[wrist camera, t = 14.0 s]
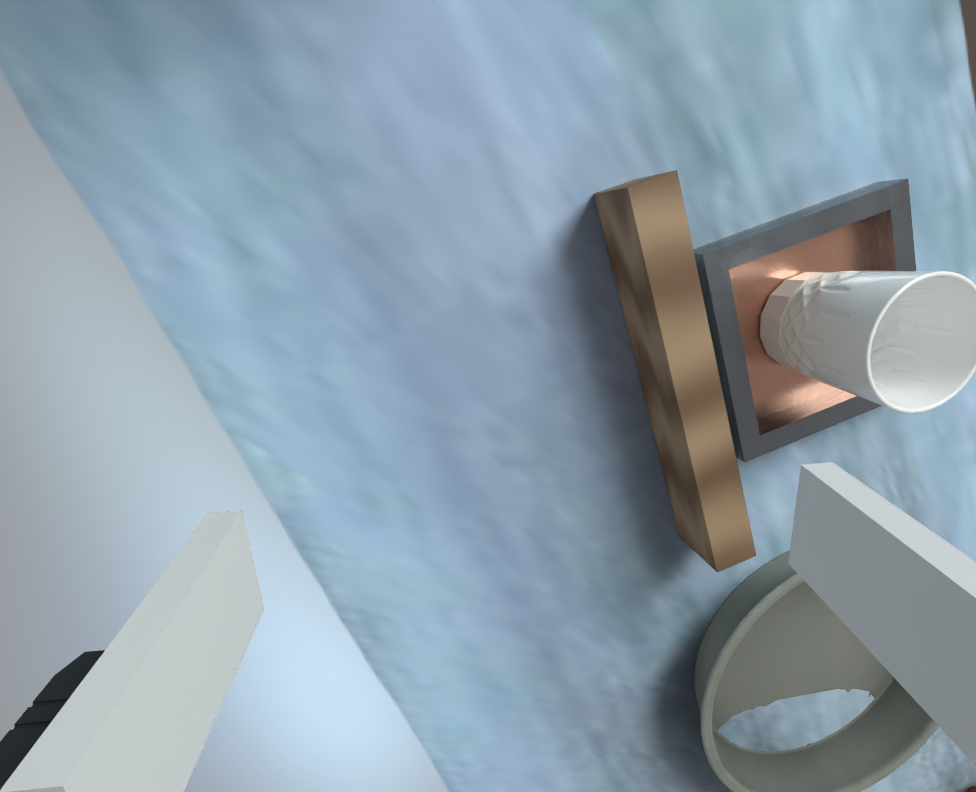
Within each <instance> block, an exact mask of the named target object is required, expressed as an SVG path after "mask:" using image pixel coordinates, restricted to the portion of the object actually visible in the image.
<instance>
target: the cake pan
mask: <svg viewBox="0 0 976 792" xmlns="http://www.w3.org/2000/svg"><path fill="white" fill-rule="evenodd" d="M789 555H790V551H789V552H786V553H784V554H782V555H780V556H778V557H776V558H774V559H773V560H771V561H769V562H768V563H766V564H765V565H763V566H762V567H760V568H759V569H757V570H756V571H755V572H754V573H752V574H751V575H750V576H749V577H747V578H746V579H745V580H744V581H743V582H742V583H741V584H740V585H739V586H738V587H737V588H736V589H735V590H734V591H733V592H732V593H731V594H730V595H729V596H728V598H727V599H726V600H725V602H724V603H723V604H722V605H721V607H720V608H719V610H718V611H717V613H716V614H715V616H714V618H713V619H712V621H711V623H710V625H709V627H708V628H707V631H706V633H705V635H704V638H703V640H702V643H701V645H700V648H699V652H698V656H697V661H696V667H695V694H696V699H697V703H698V706H699V709H700V712H701V719H700V723H701V736H702V742H703V747H704V751H705V754H706V756H707V759H708V762H709V764H710V766H711V768H712V769H713V771H714V772H715V774H716V775H717V777H718V778H719V779H720V780H721V782H722V783H723V784H724V785H726V786H727V787H728V788H729V789H730V790H731V791H732V792H860V791H862V790H865V789H867V788H869V787H870V786H872V785H874V784H875V783H877V782H878V781H880V780H882V779H883V778H885V777H886V776H888V775H889V774H891V773H892V772H893V771H895V770H896V769H897V768H899V767H900V766H901V765H902V764H904V763H905V762H906V761H907V760H908V759H909V758H911V757H912V756H913V755H914V754H915V753H916V752H917V751H918V750H919V749H920V748H921V747H922V746H923V745H924V744H925V743H926V742H927V740H928V739H929V738H930V737H931V736H932V734H933V733H934V732H935V731H936V730H937V728H938V727H939V726H938V725H937V723H936V722H935V721H934V720H933V719H932V718H931V717H930V716H929V715H928V714H927V713H926V712H925V710H924V709H923V708H922V707H921V706H920V705H919V704H918V703H917V702H916V701H915V700H914V699H913V697H912V696H911V695H910V694H909V693H908V692H907V691H906V690H905V689H904V688H903V687H902V686H901V685H900V683H899V682H898V681H897V680H896V679H895V678H894V677H893V676H892V675H891V674H890V673H889V672H888V670H887V669H886V668H885V667H884V666H883V665H882V664H881V663H880V662H879V661H878V660H877V659H876V657H875V656H874V655H873V654H872V653H871V652H870V651H869V650H868V649H867V648H866V647H865V646H864V645H863V643H862V642H861V641H860V640H859V639H858V638H857V637H856V636H855V635H854V634H853V633H852V632H851V630H850V629H849V628H848V627H847V626H846V625H845V624H844V623H843V622H842V621H841V620H840V619H839V617H838V616H837V615H836V614H835V613H834V612H833V611H832V610H831V609H830V608H829V607H828V606H827V604H826V603H825V602H824V601H823V600H822V599H821V598H820V597H819V596H818V595H817V594H816V593H815V592H814V590H813V589H812V588H811V587H810V586H809V585H808V584H807V583H806V582H805V581H804V580H803V579H802V577H801V576H800V575H799V574H798V573H797V572H796V571H795V570H794V569H793V568H792V567H791V566H790V564H789V563H788V562H789ZM853 688H854V689H860V690H866V691H870V693H869V696H870V695H871V694H872V696H873V697H874V698H875V699H874V701H873V702H872V703H871V704H870V705H869V706H868V707H867V708H866V709H865V710H864V711H863V712H862V713H861V714H860V715H859V716H857V717H856V718H855V719H854V720H853V721H851V722H850V723H849V724H848V725H846V726H844V727H843V728H841V729H840V730H838V731H837V732H835V733H833V734H831V735H830V736H828V737H826V738H824V739H822V740H820V741H817V742H815V743H812V744H808V745H806V746H804V747H800V748H796V749H792V750H786V751H777V752H764V751H756V750H750V749H746V748H743V747H741V746H738V745H736V744H734V743H732V742H730V741H729V740H727V739H726V738H725V737H723V736H722V735H721V734H720V733H719V732H718V731H717V730H718V729H719V728H720V727H721V726H722V725H723V724H724V723H726V722H727V721H728V720H729V719H730V718H731V717H732V716H734V715H736V714H738V713H740V712H743V711H745V710H750V709H754V708H756V707H757V706H767V705H769V704H770V703H772V702H774V701H776V700H780V699H785V698H790V697H795V696H800V695H806V694H812V693H817V692H823V691H828V690H834V689H842V690H843V689H845V690H846V691H847V692H849V691H850V690H851V689H853Z"/></svg>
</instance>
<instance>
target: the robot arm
mask: <svg viewBox="0 0 976 792" xmlns="http://www.w3.org/2000/svg"><path fill="white" fill-rule="evenodd" d="M788 563H789V564H790V566H791V567H792V568H793V569H794V570H795V571H796V572H797V573H798V574H799V575H800V576H801V577H802V579H803V580H804V581H805V582H806V583H807V584H808V585H809V586H810V587H811V588H812V589H813V590H814V592H815V593H816V594H817V595H818V596H819V597H820V598H821V599H822V600H823V601H824V602H825V603H826V604H827V606H828V607H829V608H830V609H831V610H832V611H833V612H834V613H835V614H836V615H837V616H838V617H839V619H840V620H841V621H842V622H843V623H844V624H845V625H846V626H847V627H848V628H849V629H850V630H851V632H852V633H853V634H854V635H855V636H856V637H857V638H858V639H859V640H860V641H861V642H862V643H863V645H864V646H865V647H866V648H867V649H868V650H869V651H870V652H871V653H872V654H873V655H874V656H875V657H876V659H877V660H878V661H879V662H880V663H881V664H882V665H883V666H884V667H885V668H886V669H887V670H888V672H889V673H890V674H891V675H892V676H893V677H894V678H895V679H896V680H897V681H898V682H899V683H900V685H901V686H902V687H903V688H904V689H905V690H906V691H907V692H908V693H909V694H910V695H911V696H912V697H913V699H914V700H915V701H916V702H917V703H918V704H919V705H920V706H921V707H922V708H923V709H924V710H925V712H926V713H927V714H928V715H929V716H930V717H931V718H932V719H933V720H934V721H935V722H936V723H937V725H938V726H939V727H940V728H941V729H942V730H943V731H944V732H945V733H946V734H947V735H948V736H949V738H950V739H951V740H952V741H953V742H954V743H955V744H956V745H957V746H958V747H959V748H960V749H961V750H962V752H963V753H964V754H965V755H966V756H967V757H968V758H969V759H970V760H971V761H972V762H973V763H974V765H975V766H976V562H975V561H974V560H972V559H971V558H969V557H968V556H966V555H965V554H964V553H962V552H961V551H959V550H958V549H956V548H955V547H954V546H952V545H951V544H949V543H948V542H946V541H945V540H943V539H942V538H941V537H939V536H938V535H936V534H935V533H933V532H932V531H931V530H929V529H928V528H926V527H925V526H923V525H922V524H920V523H919V522H918V521H916V520H915V519H913V518H912V517H910V516H909V515H908V514H906V513H905V512H903V511H902V510H900V509H899V508H897V507H896V506H895V505H893V504H892V503H890V502H889V501H887V500H886V499H884V498H883V497H882V496H880V495H879V494H877V493H876V492H874V491H873V490H872V489H870V488H869V487H867V486H866V485H864V484H863V483H861V482H860V481H859V480H857V479H856V478H854V477H853V476H851V475H850V474H849V473H847V472H846V471H844V470H843V469H841V468H840V467H838V466H837V465H836V464H834V463H833V462H830V463H818V464H805V465H801V470H800V478H799V486H798V493H797V501H796V509H795V516H794V524H793V532H792V539H791V547H790V555H789V562H788ZM263 611H264V607H263V603H262V598H261V594H260V589H259V584H258V580H257V576H256V571H255V566H254V562H253V558H252V552H251V548H250V543H249V539H248V534H247V530H246V525H245V521H244V516H243V511H242V510H240V511H228V512H215V513H208V514H207V516H206V517H205V518H204V520H203V521H202V522H201V523H200V525H199V526H198V527H197V529H196V530H195V531H194V533H193V534H192V536H191V537H190V538H189V539H188V541H187V542H186V543H185V545H184V546H183V547H182V549H181V550H180V551H179V553H178V554H177V555H176V557H175V558H174V559H173V561H172V562H171V563H170V565H169V566H168V567H167V569H166V570H165V571H164V573H163V574H162V575H161V577H160V578H159V579H158V581H157V582H156V583H155V585H154V586H153V587H152V589H151V590H150V591H149V593H148V594H147V595H146V597H145V598H144V599H143V601H142V602H141V603H140V605H139V606H138V607H137V609H136V610H135V611H134V613H133V614H132V615H131V617H130V618H129V619H128V621H127V622H126V623H125V625H124V626H123V627H122V629H121V630H120V631H119V633H118V634H117V635H116V637H115V638H114V639H113V641H112V642H111V643H110V645H109V646H108V647H107V649H106V650H103V651H91V652H84V653H83V654H82V655H80V656H79V657H78V658H77V659H75V660H74V661H73V662H71V663H70V664H69V665H67V666H66V667H65V668H64V669H62V670H61V671H60V672H58V673H57V674H56V675H55V676H54V677H53V678H52V679H51V681H50V682H49V683H48V684H47V685H46V686H45V688H44V689H43V690H42V692H41V693H40V694H39V695H38V696H37V697H36V699H35V700H34V701H33V706H32V707H28V708H27V710H26V711H25V712H24V713H23V715H22V716H21V717H20V719H19V720H18V721H17V722H16V723H15V728H14V729H13V730H10V731H9V732H8V733H7V734H6V735H5V737H4V738H3V739H2V740H1V742H0V792H184V790H185V788H186V785H187V783H188V781H189V778H190V776H191V774H192V772H193V770H194V767H195V765H196V762H197V760H198V758H199V756H200V754H201V751H202V749H203V747H204V745H205V742H206V740H207V738H208V736H209V733H210V731H211V729H212V726H213V724H214V722H215V720H216V717H217V715H218V713H219V711H220V708H221V706H222V704H223V701H224V699H225V697H226V695H227V693H228V690H229V688H230V686H231V683H232V681H233V679H234V677H235V674H236V672H237V670H238V668H239V665H240V663H241V661H242V659H243V656H244V654H245V652H246V650H247V647H248V645H249V643H250V640H251V638H252V636H253V634H254V631H255V629H256V627H257V625H258V622H259V620H260V617H261V616H262V613H263Z"/></svg>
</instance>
